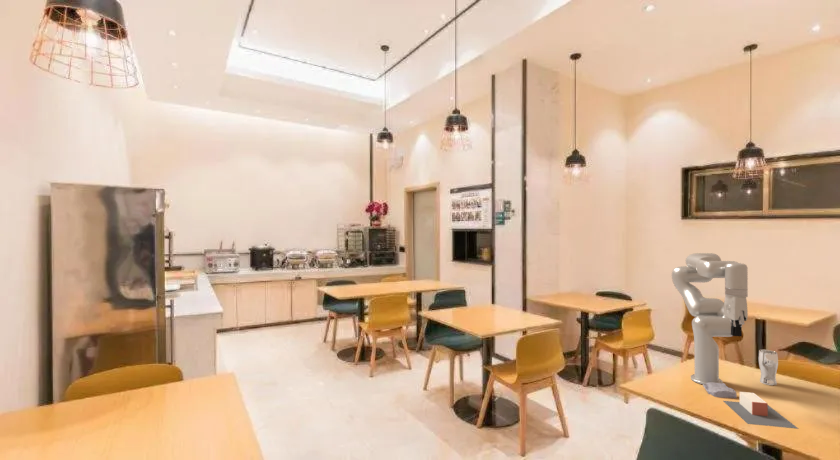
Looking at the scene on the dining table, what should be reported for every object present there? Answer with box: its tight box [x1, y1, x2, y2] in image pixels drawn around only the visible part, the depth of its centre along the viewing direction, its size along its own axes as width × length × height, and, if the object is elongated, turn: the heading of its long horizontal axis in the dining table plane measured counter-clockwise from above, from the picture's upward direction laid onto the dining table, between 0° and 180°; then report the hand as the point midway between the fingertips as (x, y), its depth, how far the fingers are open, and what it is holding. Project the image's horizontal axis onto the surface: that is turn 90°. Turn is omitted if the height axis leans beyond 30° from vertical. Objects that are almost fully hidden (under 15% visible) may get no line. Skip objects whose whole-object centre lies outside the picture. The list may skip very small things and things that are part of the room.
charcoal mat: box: [722, 400, 799, 430], centre depth 159 cm, size 20×16×1 cm
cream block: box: [739, 391, 768, 416], centre depth 162 cm, size 5×5×10 cm
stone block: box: [702, 382, 738, 399], centre depth 179 cm, size 12×5×10 cm
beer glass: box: [758, 349, 779, 386], centre depth 189 cm, size 7×7×15 cm
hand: (736, 335), depth 168 cm, fingers closed
